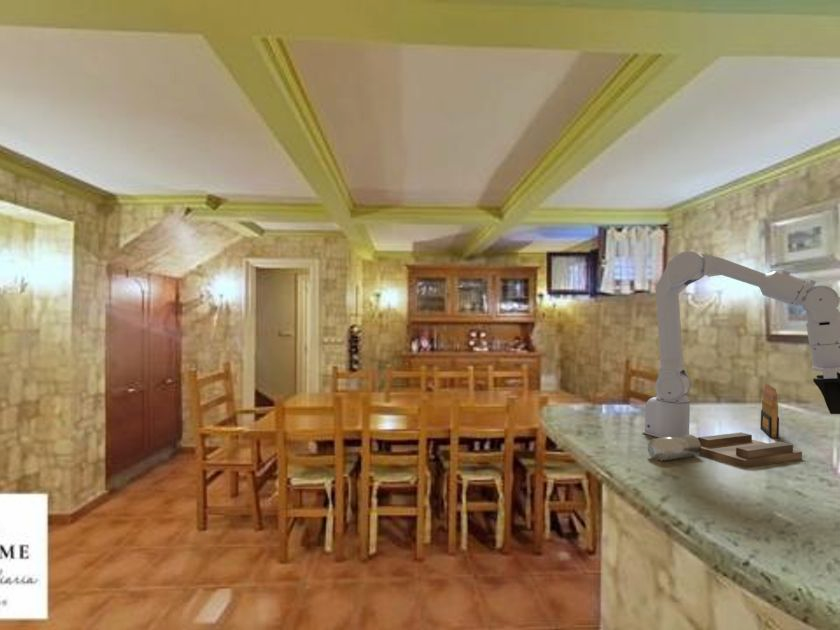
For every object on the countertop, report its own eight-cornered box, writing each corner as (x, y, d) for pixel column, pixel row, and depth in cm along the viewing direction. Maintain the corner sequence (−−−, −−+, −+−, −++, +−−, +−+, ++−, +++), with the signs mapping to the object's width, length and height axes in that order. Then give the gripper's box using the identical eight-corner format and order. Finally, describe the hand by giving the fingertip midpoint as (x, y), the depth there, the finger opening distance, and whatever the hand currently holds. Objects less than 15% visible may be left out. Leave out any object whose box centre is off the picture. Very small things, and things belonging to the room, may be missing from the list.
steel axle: (646, 455, 101) (648, 435, 101) (681, 451, 105) (683, 431, 104) (664, 464, 97) (667, 443, 97) (699, 459, 101) (702, 439, 100)
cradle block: (688, 451, 106) (688, 437, 106) (744, 444, 113) (744, 431, 113) (744, 468, 95) (744, 452, 94) (801, 459, 102) (802, 444, 101)
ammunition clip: (778, 438, 119) (780, 389, 118) (769, 437, 119) (770, 388, 119) (768, 429, 128) (769, 383, 128) (760, 428, 129) (761, 383, 129)
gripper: (852, 344, 92) (864, 416, 91) (853, 340, 103) (864, 405, 102) (805, 347, 97) (816, 416, 96) (810, 343, 108) (820, 406, 107)
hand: (838, 411), depth 99 cm, fingers open, 7 cm apart
